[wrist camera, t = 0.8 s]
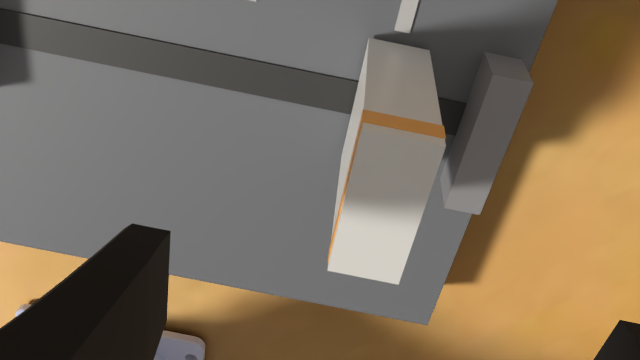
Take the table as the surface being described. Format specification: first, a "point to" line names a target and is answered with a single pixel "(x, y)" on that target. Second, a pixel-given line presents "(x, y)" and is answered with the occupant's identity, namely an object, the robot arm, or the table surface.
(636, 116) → the table surface
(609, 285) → the table surface
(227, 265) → the console
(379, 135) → the fader tab
